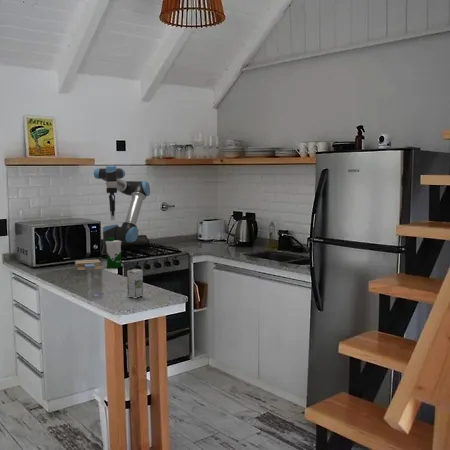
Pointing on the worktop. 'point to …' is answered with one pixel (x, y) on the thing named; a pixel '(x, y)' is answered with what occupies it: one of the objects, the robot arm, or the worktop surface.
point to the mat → (89, 269)
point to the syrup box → (135, 282)
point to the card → (89, 266)
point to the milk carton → (113, 253)
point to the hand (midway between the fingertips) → (112, 220)
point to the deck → (87, 262)
